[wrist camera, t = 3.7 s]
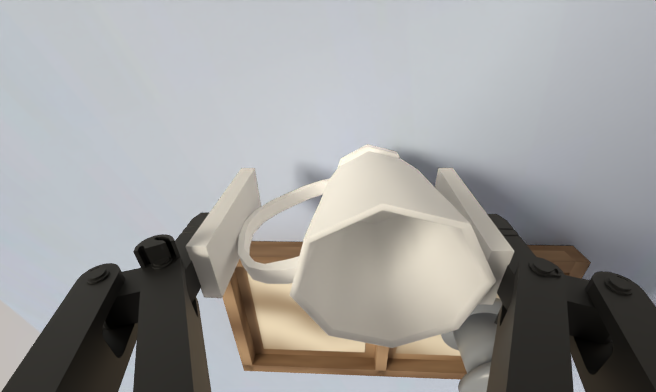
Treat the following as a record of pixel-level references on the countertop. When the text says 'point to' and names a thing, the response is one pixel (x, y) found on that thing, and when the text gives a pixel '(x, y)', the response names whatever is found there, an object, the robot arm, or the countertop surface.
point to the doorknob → (475, 345)
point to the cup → (378, 254)
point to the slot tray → (327, 351)
